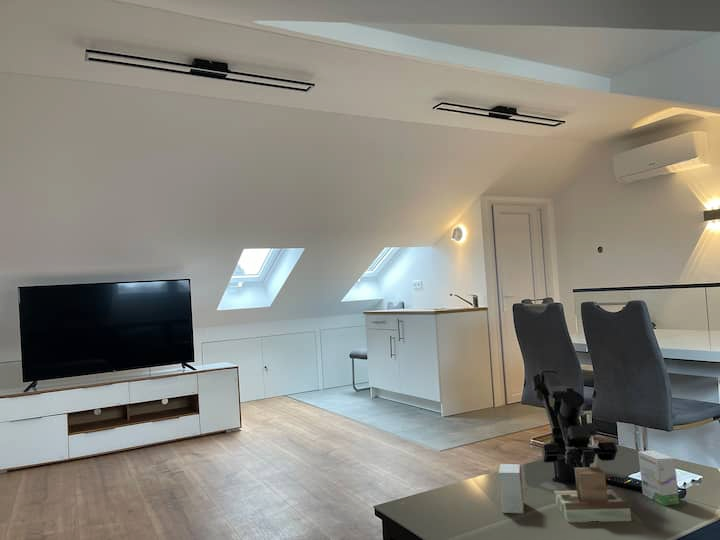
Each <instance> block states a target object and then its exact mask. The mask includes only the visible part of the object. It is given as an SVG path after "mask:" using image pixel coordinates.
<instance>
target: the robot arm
mask: <svg viewBox="0 0 720 540" xmlns="http://www.w3.org/2000/svg"><path fill="white" fill-rule="evenodd" d="M531 389H532V392H534V395H535V397H536V398H537V399H538V400H540V401H542V403H543V407H544V409H545V412H546V415H547V419H548V422H549V425H550V429H551V433H550V435H551V436H550V441H549V443H543V445H542V450H541V456H542V461H543V463H547V464H548V463H549V464H550V463H551V464H552V463H553V468H554V469H553V470H554V471H553V472H554V477H552V479H551V481H554V482H559V483H563V484H567V485H573V484H576V478H575V469H574V468H582V467H591V465H592V464H594V462H595V460H596V459H595V457H596V455H597V458H598V459H599V460H601V462H605V461H606V462H607V461H614V460H615V459H616V456H617V452H618V446H617V444H616V443H615V441H613V440H603V441H602V440H601V441H598V444H597V446H589V445H590V443H591V438H592V437H596V436H597V435H598V431H597V427H596V425H595V422H587V424H586V425H584V424H583V425H582V422H581V419H580V418H581V417H582V414H583V411H584V404H585V397H584V396H583V395H582V393H580V392H578V391H575V390H574V387H568V386H564V384H563V382H562V381H561V379H560V378H559V376H558V374H557V371H556V369H542V370H540V371H539V372H538V373H537V374H536V375H534V376H532V379H531Z"/></svg>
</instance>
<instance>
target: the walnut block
mask: <svg viewBox="0 0 720 540" xmlns="http://www.w3.org/2000/svg"><path fill="white" fill-rule="evenodd" d="M574 469H575V478H576V483H575V484H576V487H575V488H576V491H577V498H578V500H579V502H580V503H581V502H608V499H607V490H608V489H607V482H606V473H605V472H604V471H603V469H601V468H600V467H599V466H590V467H582V468H574Z"/></svg>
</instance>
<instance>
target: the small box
mask: <svg viewBox="0 0 720 540" xmlns="http://www.w3.org/2000/svg"><path fill="white" fill-rule="evenodd" d="M521 467H522V466H521V464H516V463H515V464H513V463H500V464H499V469H498V473H497V474H498V483H499V492H500V493H499V494H500V505H501V512H502V513H503V514H504V513H505V514H524V513H525V512H524V509H525V508H524V506H525V502H524V501H525V499H524V491H523V490H524V489H523V479H522V468H521Z"/></svg>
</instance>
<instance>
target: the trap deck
mask: <svg viewBox="0 0 720 540" xmlns="http://www.w3.org/2000/svg"><path fill="white" fill-rule="evenodd" d="M553 494H554V503H555V505H556V506H557V508H558V510H559V511H560V513H561V512H562V513H561V514H562V515H563V518H564V519H565V520H567V521H566V522H567V523H592V522H591V521H594V522H595V521H599V522H606V523H607V522H632V513H631V505H630V504H631V503H630V501H629V500H628V501H627V500H625V501H623V500H622V498H621V497H620V496H619V495H618V494H617V493H616V492H615V491H614V490H613V489H607V499H608V502H581V503H580V502H579V500H578V498H577V490H558V491H557V490H554V491H553ZM589 521H590V522H589ZM594 522H593V523H594ZM599 522H598V523H599ZM595 523H596V522H595Z"/></svg>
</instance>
